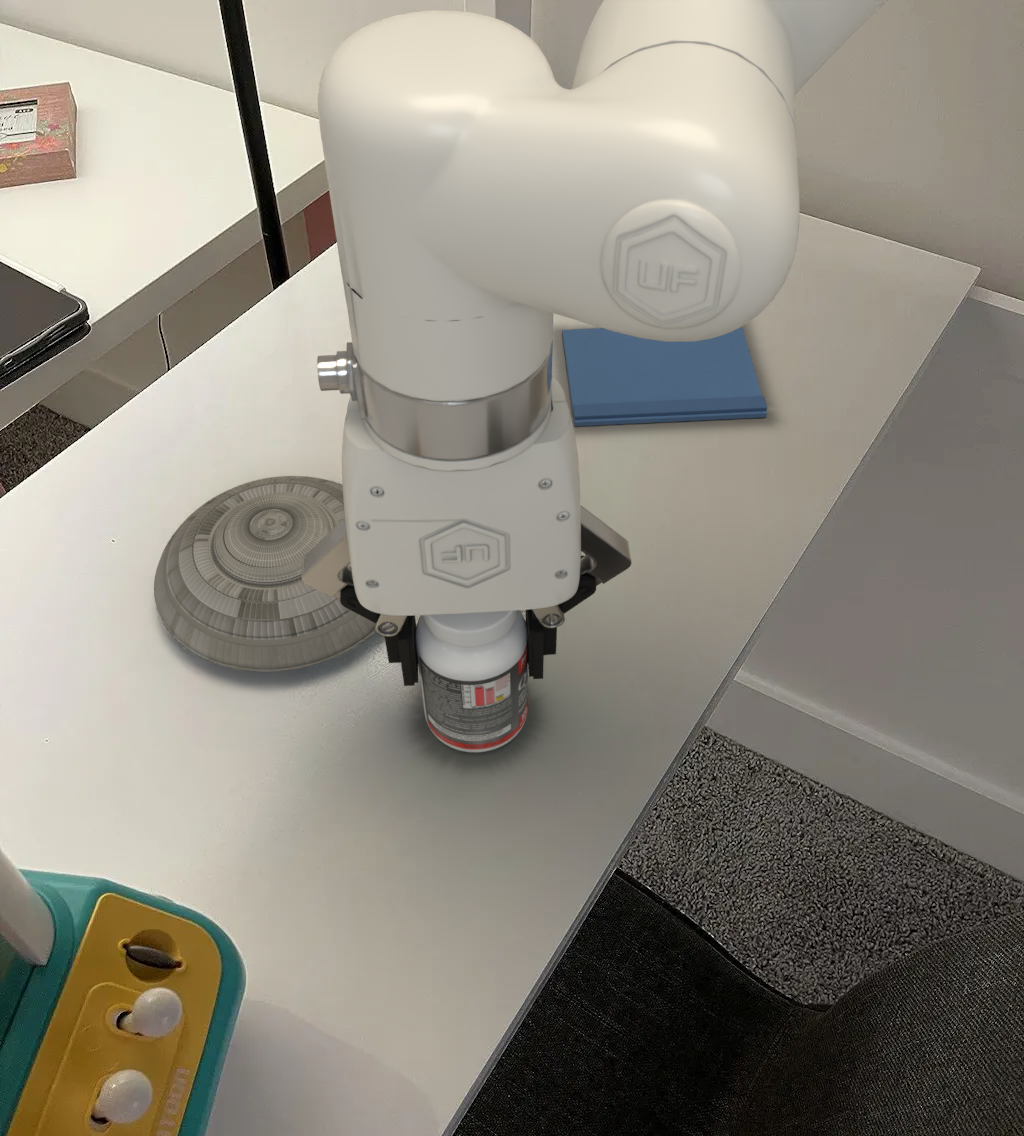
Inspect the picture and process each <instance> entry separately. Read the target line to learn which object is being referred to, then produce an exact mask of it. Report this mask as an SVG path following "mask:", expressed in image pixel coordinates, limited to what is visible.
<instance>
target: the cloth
mask: <svg viewBox="0 0 1024 1136" xmlns="http://www.w3.org/2000/svg"><path fill="white" fill-rule="evenodd" d="M561 336H562V343H563V344H562V345H563V351H564V356H565V366H566V373H567V380H568V388H569V395H570V404H571V411H572V419H573V427H590V426H608V425H630V424H633V425H634V424H650V423H651V424H655V423H673V422H674V423H675V422H694V421H695V422H698V421H716V420H717V421H718V420H737V419H738V420H739V419H757V418H758V419H759V418H760V419H761V418H767V414H768V412H767V411H768V406H767V402H766V399H765V396H764V395H762V391H761V387H760V384H759V380H758V377H757V373H756V370H755V366H754V363H753V360H752V357H751V353H750V349H749V346H748V343H747V342H748V341H747V339H746V335H745V332H744V328H743V326H742V327H740V328H738V329H736V330H734V331H732V332H730V333H727V334H724V335H721V336H718V337H715V338H711V339H706V340H700V341H690V342H666V341H657V340H651V339H644V338H638V337H634V336H630V335H626V334H622V333H618V332H614V331H610V330H607V329H604V328H600V327H596V328H574V329H571V328H570V329H562V330H561Z"/></svg>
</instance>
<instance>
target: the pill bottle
mask: <svg viewBox="0 0 1024 1136" xmlns="http://www.w3.org/2000/svg"><path fill="white" fill-rule="evenodd" d="M524 616H525V615H524V614H523V612H522V610H515V611H499V612H482V613H462V614H440V615H419V618H418V621H417V622H416V633H415V642H416V652H417V659H418V675H419V682H420V689H421V696H422V697H421V698H422V707H423V712H424V717H425V722H426V723H427V726H428V728H429V729H430V731H431V732H432V734H433V735H434V736H435V738H437V739H438V740H439V741H440V742H441V743H443V744H444V745H446V746H447V747H450V748H452V749H454V750H457V751H460V752H466V753H484V752H485V753H486V752H490V751H493V750H496V749H499V748H501V747H503V746H505V745H506V744H508V743H509V742H511V741H512V740H513V739H514V738H515V737H516V736H517V735H518V734H519V733H520V732H521V730H523V729H522V728H523V727H524V725H525V724H526V723H525V722H526V720H527V716H528V713H529V712H528V711H529V669H528V633H527V625H526V618H525V617H524Z"/></svg>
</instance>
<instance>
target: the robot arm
mask: <svg viewBox="0 0 1024 1136" xmlns="http://www.w3.org/2000/svg"><path fill="white" fill-rule="evenodd" d="M887 2H889V0H602V2H601V4H600V5H599V7H598V9H597V11H596V13H595V14H594V17H593V19H592V21H591V23H590V25H589V28H588V31H587V33H586V35H585V37H584V40H583V43H582V46H581V49H580V54H579V57H578V60H577V65H576V68H575V73H574V77H573V81H572V87H571V89H570V88H569V89H568V88H565V87H563V86H561V84H558V83H557V81H556V78H555V76H554V73H553V70H552V67H551V65H550V63H549V61H548V59H547V58H546V56H545V54H544V53H543V50H541V48H540V47H539V45H538V44H537V43H536V42H535V41H534V40H533V39H532V38H531V37H530V36H529V35H527V34H526V33H525V32H523V31H521V30H520V29H519V28H517V27H515V25H512V24H510V23H509V22H506V21H504V20H501V19H499V18H496V17H492V16H489V15H486V14H481V13H476V12H471V11H462V10H451V9H432V10H419V11H418V10H417V11H411V12H404V13H400V14H396V15H393V16H389V17H385V18H382V19H378V20H375V21H373V22H371V23H369V24H366V25H364V26H363V27H361V28H358V29H357V30H355V31H354V32H352V34H350V35H349V36H348V37H346V38H345V39H344V40H342V41H341V43H339V44H338V46H336V48H334V50H333V52H331V54H330V56H329V58H328V60H327V61H326V63H325V65H324V68H323V70H322V72H321V74H320V75H321V76H320V80H319V86H318V95H317V111H318V124H319V132H320V137H321V138H320V139H321V145H322V152H323V160H324V166H325V173H326V178H327V179H326V180H327V187H328V192H329V198H330V205H331V214H332V218H333V219H332V220H333V226H334V232H335V233H334V234H335V238H336V245H337V253H338V258H339V267H340V272H341V276H342V277H341V279H342V284H343V290H344V296H345V303H346V309H347V317H348V322H349V330H350V336H351V342H349V341H348V342H346V350H337V351H336V354H326V355H317V358H316V359H317V360H316V361H317V362H316V363H317V364H316V366H317V367H316V368H317V369H316V370H317V380H318V385H319V389H320V391H321V392H327V391H328V392H329V391H339V393H340V394H341V395H344V394H345V395H346V394H349V395H350V397H349V400H348V402H347V407H346V414H345V418H344V424H343V431H342V442H341V443H342V444H341V484H342V486H343V499H344V510H345V518H344V519H343V520H342V521H341V522H340V523H339V524H337V525H336V526H335V527H334V528H333V529H332V530H331V531H330V532H329V533H328V534H327V535H326V536H325V537H324V538H323V539H322V540H320V541H319V542H318V543H317V544H316V545H315V546H314V547H313V548H312V549H311V550H310V551H309V552H308V553H307V554H306V555H305V556H304V557H303V564H302V581H303V583H304V584H306V585H308V586H310V587H312V588H314V589H316V590H318V591H320V592H322V593H324V594H326V595H328V596H330V597H334V596H335V597H337V598H339V599H340V603H341V604H342V606H344V607H345V608H347V609H349V610H351V611H353V612H355V613H357V614H359V615H361V616H363V617H364V618H366V619H368V620H370V621H372V622H374V623H376V632H375V633H377V634H379V635H380V636H382V637H384V642H385V648H386V654H387V660H388V661H387V662H388V663H389V664H397V663H399V664H400V666H401V672H402V680H403V686H404V687H411V686H412V687H413V686H415V684H418V683H419V666H418V659H417V652H416V642H415V633H416V626H417V621H416V616H421V615H440V614H462V613H482V612H499V611H515V610H520V611H525V622H526V625H527V633H528V678H532V680H543V679H544V664H545V663H544V660H545V659H544V658H545V656H551V655H552V656H553V655H557V639H558V628H559V627H561V626H562V625H563V624H564V623H565V620H566V617H565V614H566V613H568V612H569V611H571V610H572V609H573V608H575V607H576V606H578V605H580V604H581V603H583V602H584V601H586V600H587V599H589V598H591V596H593V595H594V594H595V593H596V591H597V586H599V585H601V584H602V585H605V584H606V583H607V582H609V581H611V580H612V579H614V578H615V577H617V576H618V575H620V574H622V573H623V572H625V571H627V570H628V569H629V568H630V567H631V566H632V557H631V549H630V544H629V541H628V540H627V539H626V538H625V537H623V535H621V534H620V533H618V532H617V531H616V530H615V529H613V528H612V527H610V526H609V525H607V523H605V522H604V521H603V520H601V519H600V518H599V517H598V516H596V515H594V513H592V512H591V511H589V510H588V509H587V508H585V507H584V506H583V505H582V504H581V477H580V464H579V452H578V447H577V440H576V433H575V432H576V431H575V426H574V421H573V417H572V414H571V411H570V407H569V405H568V402H567V397H566V393H565V391H564V388H563V386H562V385H561V384H560V382H559V381H558V379H557V378H556V377H555V376H554V375H553V352H554V351H553V349H554V348H553V347H554V346H553V345H554V343H553V342H554V315H558V316H561V317H564V318H568V319H571V320H574V321H578V322H581V323H584V324H587V325H590V326H593V327H596V328H604V329H607V330H610V331H614V332H618V333H622V334H626V335H630V336H634V337H638V338H644V339H651V340H657V341H666V342H690V341H700V340H706V339H711V338H715V337H718V336H721V335H724V334H727V333H730V332H732V331H734V330H736V329H738V328H740V327H742V328H743V326H745V325H747V324H749V323H750V322H751V321H752V320H754V319H755V318H757V317H758V316H759V315H760V314H761V313H762V312H763V311H764V310H765V309H766V308H767V307H768V306H770V304H771V303H772V302H773V300H775V298H776V297H777V294H778V293H779V292H780V290H781V289H782V287H783V286H784V284H785V283H786V280H787V278H788V275H789V273H790V270H791V269H792V265H793V262H794V258H795V255H796V252H797V245H798V240H799V231H800V217H801V214H800V213H801V210H800V209H801V208H800V207H801V206H800V205H801V204H800V186H799V185H800V183H799V182H800V181H799V163H798V145H797V144H798V143H797V118H796V117H797V116H796V115H797V114H796V99H795V98H796V97H795V96H796V95H797V94H798V92H800V90H801V89H802V88H803V87H804V86H805V85H806V84H807V83H808V81H809V80H810V79H811V78H812V77H813V76H814V75H815V74H816V73H817V72H818V71H819V70H820V69H821V68H822V66H823V65H824V64H826V62H827V61H829V59H830V58H831V57H832V56H833V55H834V54H835V53H836V52H837V51H838V50H840V48H841V47H843V45H844V44H845V43H846V42H848V40H849V39H850V38H852V36H853V35H854V34H855V33H856V32H857V31H858V30H859V29H860V28H861V27H862V26H863V25H864V24H866V22H867V21H868V20H869V19H870V18H871V17H873V15H874V14H876V13H877V12H878V11H879V10H880V9H881V8H882V7H883V6H884V5H885V4H887ZM582 553H583V554H584V555H582ZM350 563H351V567H349V568H348V564H350Z"/></svg>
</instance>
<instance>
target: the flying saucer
mask: <svg viewBox="0 0 1024 1136" xmlns="http://www.w3.org/2000/svg"><path fill="white" fill-rule="evenodd" d="M344 518H345V510H344V499H343V486H342V483H339V482H337V481H334V480H333V481H332V480H330V479H325V478H320V477H314V476H305V475H304V476H303V475H281V476H271V477H265V478H261V479H256V480H252V481H251V480H250V481H249V482H245V483H242V484H240V485H237V486H234V487H231V488H229V489H227V490H225V491H223V492H221V493H219V494H218V495H216V496H214V497H212V498H211V499H209V500H208V501H206V502H205V503H203V504H202V505H200V506H199V507H198V508H197V509H195V510H194V511H193V512H192V513H191V514H190V515H189V516H188V517H187V518H186V519H185V520H184V521H183V522H182V523H181V524H180V525H179V527H178V528H177V529H176V530H175V532H174V533H173V534H172V536H171V537H170V539H169V540H168V542H167V544H166V545H165V546H164V549H163V551H162V553H161V555H160V559H159V561H158V563H157V567H156V570H155V573H154V574H155V575H154V580H153V581H154V582H153V596H154V601H155V606H156V609H157V612H158V615H159V617H160V620H161V621H162V623H163V625H164V626H165V628H166V630H167V631H168V632H169V633H170V634H171V636H172V637H173V638H174V639H175V640H176V641H177V642H178V643H179V644H181V645H182V646H183V647H184V648H185V649H187V650H188V651H190V652H192V653H193V654H194V655H196V656H198V657H200V658H202V659H203V660H206V661H209V662H211V663H213V664H217V665H219V666H222V667H227V668H229V669H230V668H231V669H236V670H240V671H247V672H248V671H250V672H283V671H290V670H297V669H301V668H306V667H310V666H314V665H317V664H320V663H323V662H326V661H329V660H331V659H333V658H336V657H339V656H341V655H343V654H344V653H347V652H348V651H350V650H352V649H354V648H356V647H357V646H359V645H360V644H361V643H363V642H364V641H366V640H367V639H368V638H370V637H371V636H372V635H373V634H375V633H377V632H376V623H374V622H372V621H370V620H368V619H366V618H364V617H363V616H361V615H359V614H357V613H355V612H353V611H351V610H349V609H347V608H345V607H344V606H342V604H341V603H340V599H339V598H337V597H335V596H334V597H330V596H328V595H326V594H324V593H322V592H320V591H318V590H316V589H314V588H312V587H310V586H308V585H306V584H304V583H303V581H302V564H303V557H304V556H305V555H306V554H307V553H308V552H309V551H310V550H311V549H312V548H313V547H314V546H315V545H316V544H317V543H318V542H319V541H320V540H322V539H323V538H324V537H325V536H326V535H327V534H328V533H329V532H330V531H331V530H332V529H333V528H334V527H335V526H336V525H337V524H339V523H340V522H341V521H342V520H343V519H344ZM349 567H351V563H350V564H348V568H349Z"/></svg>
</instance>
